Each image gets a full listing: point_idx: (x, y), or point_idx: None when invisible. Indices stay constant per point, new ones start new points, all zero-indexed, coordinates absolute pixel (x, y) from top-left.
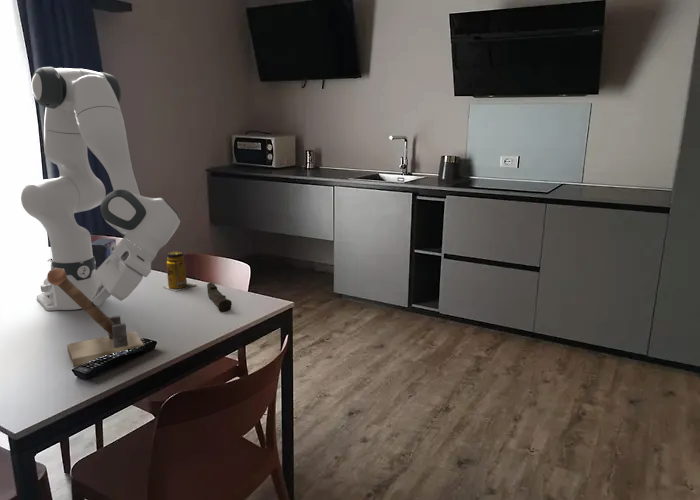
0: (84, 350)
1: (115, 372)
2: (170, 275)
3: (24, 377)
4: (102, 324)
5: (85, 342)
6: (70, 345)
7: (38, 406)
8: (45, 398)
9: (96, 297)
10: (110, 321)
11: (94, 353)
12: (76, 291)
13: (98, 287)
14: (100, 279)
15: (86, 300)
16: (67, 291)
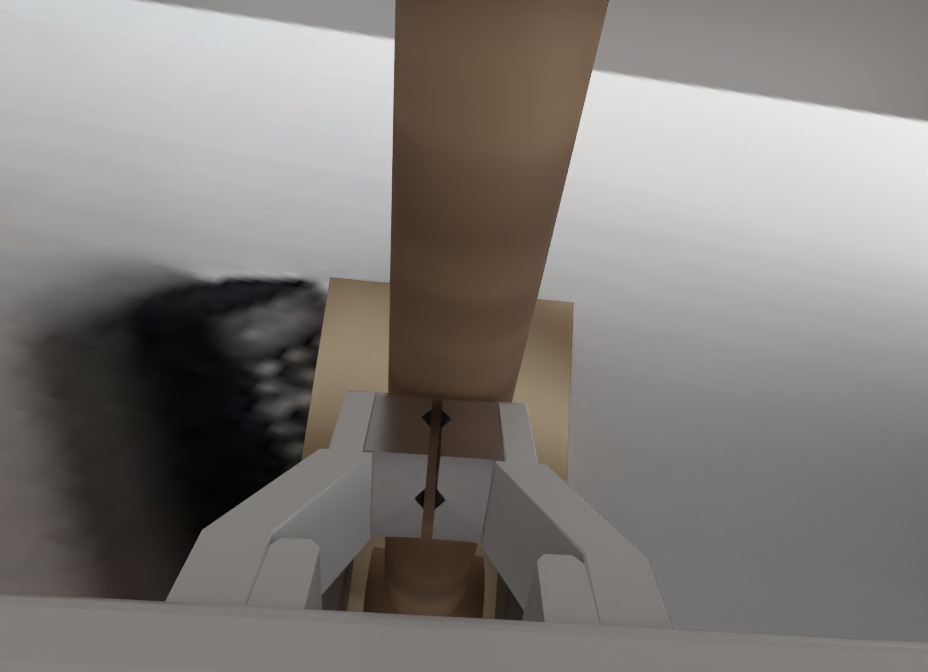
0: None
1: (106, 453)
2: None
3: (371, 99)
4: None
5: (537, 396)
6: (541, 313)
7: (26, 86)
8: (81, 122)
9: (333, 436)
10: (400, 561)
11: (325, 395)
12: (404, 118)
13: (581, 550)
14: (679, 669)
15: (401, 314)
16: None
